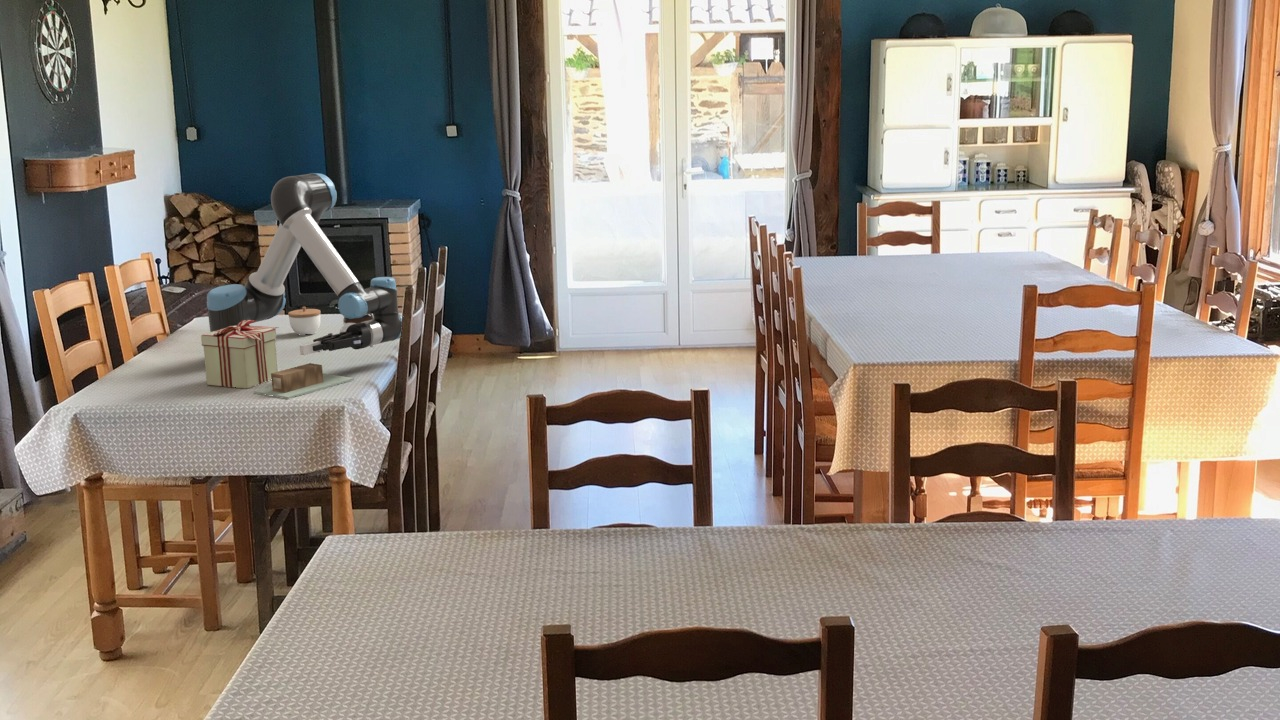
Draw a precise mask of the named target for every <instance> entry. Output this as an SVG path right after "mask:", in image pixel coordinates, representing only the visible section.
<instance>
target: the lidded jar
mask: <svg viewBox="0 0 1280 720" xmlns="http://www.w3.org/2000/svg"><path fill="white" fill-rule="evenodd" d="M287 313H288V315H287V316H288V320H289V325H290V328H291V329H292V331H293V332H294V333H295V334H296V335H297V334H300V335H299V336H306V335H305V334H312V335H314V334H313V333H315V334H316V332H317V331H318V330H319V328H320V327H321V322H322V321H321V319H322V317H321V313H322V312H321V310H320V309H317V308H307V307H306V306H302V308H300V309H295V310H291V311H288V312H287Z"/></svg>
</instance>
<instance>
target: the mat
mask: <svg viewBox="0 0 1280 720" xmlns="http://www.w3.org/2000/svg"><path fill="white" fill-rule="evenodd" d="M351 380H353V381H354V380H355V379H354V378H353V377H349V376H341V375H336V374H335V375H334V374H329V373H323V382H322V383H318V384H315V385H311V386H308V387H304V388H301V389H297V390H294V391H290V392H287V393H282V392H276V391H273V389H272V385H271V386H269V387H265V388H261V389H257V390H254V394H256V393H259V394H258V395H262V394H266V395H265V396H268V395H273V396H278V397H277V398H279V397H283V398H282V399H285V398H291V399H293V398H292V397H294V398H296V397H295V396H298V397H300V396H299V395H301V396H304V395H303V394H305V395H307V393H308V394H311V392H312V393H315V392H318V391H321V389H322V390H324V388H325V389H328V388H327V387H329V388H331V387H330V386H332V387H335V386H334V385H336V386H338V385H337V384H339V385H342V384H341V383H343V384H345V383H344V382H346V383H348V382H347V381H349V382H352V381H351ZM317 390H318V391H317ZM314 391H315V392H314ZM273 396H272V397H273Z"/></svg>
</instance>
